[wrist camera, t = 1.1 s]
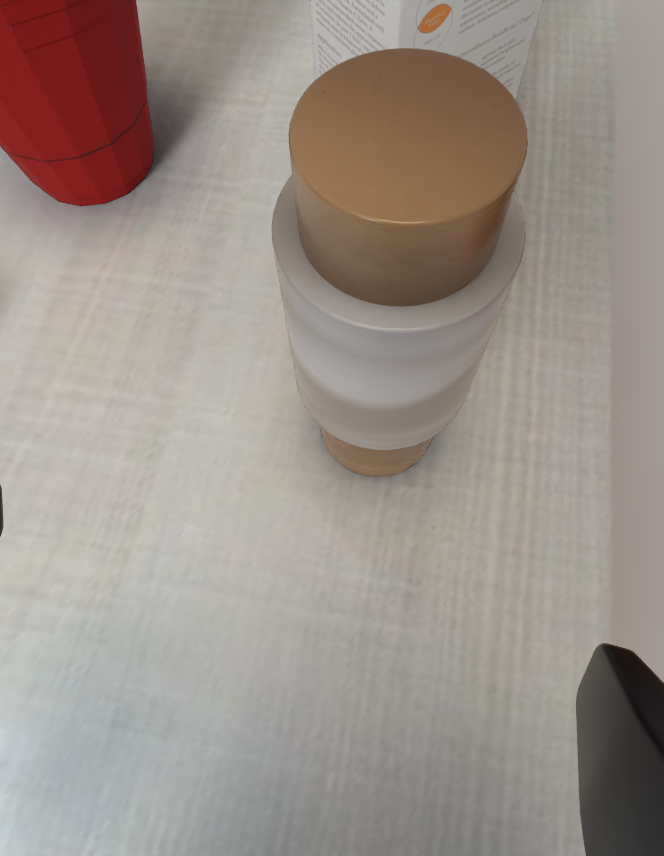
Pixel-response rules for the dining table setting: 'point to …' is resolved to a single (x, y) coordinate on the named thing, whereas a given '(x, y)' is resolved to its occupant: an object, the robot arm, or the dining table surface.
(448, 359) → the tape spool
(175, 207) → the dining table surface
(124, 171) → the plastic cup
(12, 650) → the dining table surface
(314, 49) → the small box
